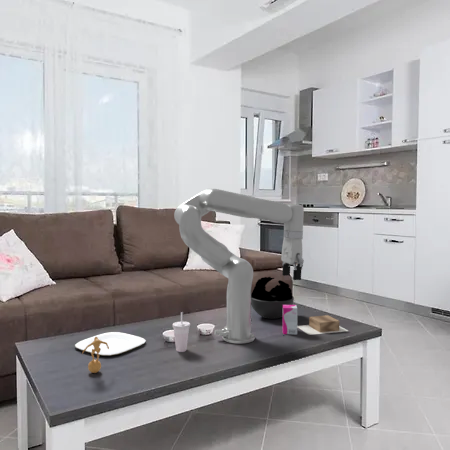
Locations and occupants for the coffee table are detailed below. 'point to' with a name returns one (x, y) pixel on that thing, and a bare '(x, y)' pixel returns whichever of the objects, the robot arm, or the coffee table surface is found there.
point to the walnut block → (324, 323)
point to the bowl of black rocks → (271, 298)
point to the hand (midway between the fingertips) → (291, 277)
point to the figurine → (95, 364)
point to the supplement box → (290, 319)
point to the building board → (312, 331)
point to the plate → (112, 343)
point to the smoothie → (181, 334)
